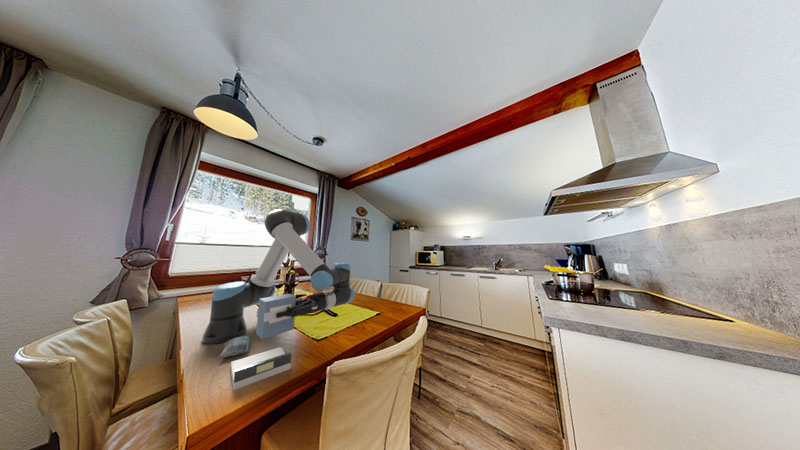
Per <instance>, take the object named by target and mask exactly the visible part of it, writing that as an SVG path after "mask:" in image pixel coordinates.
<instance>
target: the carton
mask: <svg viewBox="0 0 800 450" xmlns="http://www.w3.org/2000/svg"><path fill="white" fill-rule="evenodd" d="M296 299H297V296H296V295H294V294H291V293H283V294H280V295H279V294H278V295H273V296H272V297H266V298H261V299H259V304H258V307H257V309H258V317H257V322H256V333H255V335H256V336H258V337H259V339H260V338H261V340H264V339H268V338H271V337H274V336H276V335H277V336H278V335H280V334H283V333H287V332H291V331H292V330H295V319H296V316H295V317H291V316H289V317H282V318H279V319H275V320H271V321H267V322H264V313H268V312H272V311H276V310H280V309H286V311H287V307H290V308H292V307H295V303H296Z"/></svg>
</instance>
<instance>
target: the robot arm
mask: <svg viewBox="0 0 800 450" xmlns="http://www.w3.org/2000/svg"><path fill="white" fill-rule="evenodd" d="M310 226H311V224H310V220H309V218H308V216H307V215H306V214H303V213H300V212H296V211H292V210H287V209H283V208H282V209H281V208H279V209H274V210H272V211H270V212H269V213H268V214H267V215H266V216H265V218H264V227H265V229H266V231H267V233H268V234H269V235H270V236H271V238H272V239H274V240H273V242H272V244H271V245H270V247H269V250H268V251H267V253H266V255H265V257H264V259H263V260H262V263H261V265H260V266H259V268H258V270H257V272H256V274H252V275H251V276H250V278H249V280H248V282H245V281H234V282H227V283H224V284H221V285H218V286H216V287H215V288H214V289H213V292H212V296H211V307H210V318H209V322H208V324H207V327H206V328H205V331H204V332H203V334H202V340H201V341H202V342H201V343H203V344H206V345H213V344H221V343H222V344H223V343H226V342H227V341H229V340H231V339H234V338H236V337H241V336H245V334H246V333H247V328H248V327H247V324H246V321H245V318H244V309H245V308H247V307H251V306H255V305H259V299H261V298H266V297H272V296H275V294H276V293H275V292H276V290H277V289H276V281H275V278H276V275H277V273H278V272H279V270H280V268H281V266H282V264H283V263H284V261H285V259H286V257H287V256H288V253H289V254H290V255H291V257H293V258H294V259H295V261H296V262H297V263H298V264H299V265H300V266H301V268H302V269H303V270H304V271H306V273H307V274H308V275H309V276H310V284H311V287H312V288H313V289H314V290H315V291H319V292H315V293H312V294H311V296H310V298H308V297H307V298H303V297H302V298H301V297H300V298H296V303H295V307H292V308H290V307H287V311H286V309H280V310H276V311H272V312H268V313H264V322H267V321H271V320H275V319H279V318H282V317H289V316H291V317H295V318H296V317H298V316H301V315H305V314H308V313H311V312H315V313H316V312H319V311H323V310H327V311H328V310H329V309H331V308H334V307H338V306H342V305H346V304H348V303H351V302H353V301H354V298H355V295H356V294H355V289H354V288H353V287H352V286H350V285H351V283H350V282H351V264H350V262H335V263H334V265H333V268H329V266H328V265H327V264H326V263H325V262H324V261H323V260H322V259H321V258H320V257H319V255H317V254H316V252H315V251H314V250H313V249H312V248H311V247H310V245H308V243H307V242H305V240H304V239H303V238H302V237H301V236H303V235H306V234H307V233H308V232H309V230H310ZM332 287H333V288H332ZM330 288H332V289H330ZM328 289H329V290H328ZM256 318H258V308H257V309H256Z"/></svg>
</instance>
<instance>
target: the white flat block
mask: <svg viewBox="0 0 800 450" xmlns="http://www.w3.org/2000/svg"><path fill="white" fill-rule="evenodd" d="M291 364H292V352H291V351H289V352H286V353H285V351H284V349H283V347H281V346H279V347H276V348H272V349H269V350H266V351H262V352H260V353H256V354H252V355H250V356H246V357H244V358H239V359H237V360H232V361H231V362H230V372H231V374H230V376H231V382H232V383H231V384H232V391H235V390H238V389H241V388H243V387H246V386H248V385H252V384H255V383H256V382H260V381H262V380H265V379H267V378H271V377H273V376H276V375H277V374H280V373H283V372H285V371H288V370H291V367H292V365H291Z"/></svg>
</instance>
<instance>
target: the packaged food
mask: <svg viewBox="0 0 800 450" xmlns="http://www.w3.org/2000/svg"><path fill="white" fill-rule="evenodd" d="M251 339H252V336H251V335H242V336H241V337H236V338H234V339H231V340H229V341H227V342H223V343H224V344H223V346H224V348H223V350H222V351H221V353H220V354H219V355H218V356H217V357H218V358H228V357H233V356H238V355H239V356H241V355H243V354H246V353H247V352H248V351H249V348H250V342H251Z"/></svg>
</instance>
